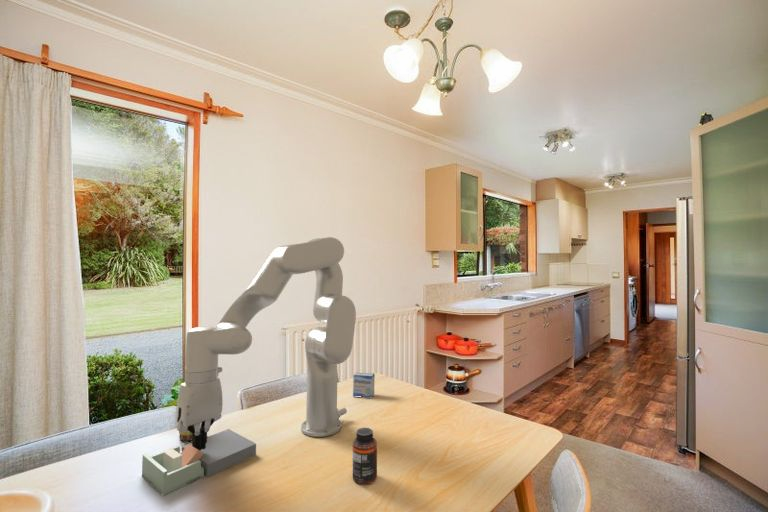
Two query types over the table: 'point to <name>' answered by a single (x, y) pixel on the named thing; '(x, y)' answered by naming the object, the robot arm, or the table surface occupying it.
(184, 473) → the bin
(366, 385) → the medicine box
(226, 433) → the slate board
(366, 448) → the supplement bottle
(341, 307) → the robot arm
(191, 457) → the terracotta tile
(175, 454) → the cream tile
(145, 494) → the table surface
